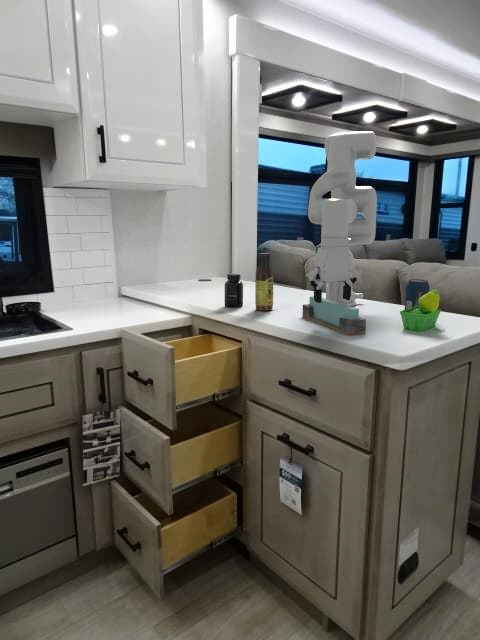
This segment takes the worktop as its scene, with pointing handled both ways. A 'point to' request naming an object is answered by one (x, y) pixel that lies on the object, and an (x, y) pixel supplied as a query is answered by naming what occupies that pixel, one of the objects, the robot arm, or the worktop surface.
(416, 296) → the soda can
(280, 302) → the worktop surface
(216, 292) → the worktop surface
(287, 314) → the worktop surface
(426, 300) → the fruit basket
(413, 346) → the worktop surface
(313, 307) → the slat
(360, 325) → the endcap rail
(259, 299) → the sauce bottle
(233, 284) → the supplement bottle
